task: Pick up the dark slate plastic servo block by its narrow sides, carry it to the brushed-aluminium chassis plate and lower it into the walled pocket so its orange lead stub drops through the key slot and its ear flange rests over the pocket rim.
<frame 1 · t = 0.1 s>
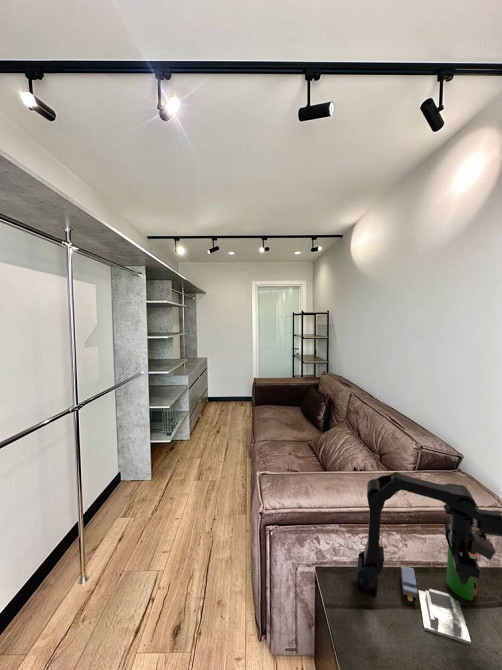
hand: (459, 572, 97), 15 cm above the table, fingers open, 9 cm apart
chassis: (442, 616, 97), on the table
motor: (461, 587, 107), on the table
servo: (408, 588, 107), on the table
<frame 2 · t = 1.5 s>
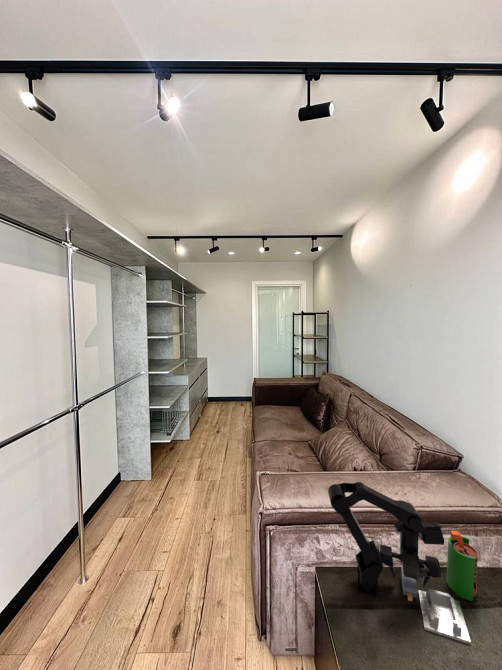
hand: (408, 581, 107), 3 cm above the table, fingers open, 9 cm apart
nothing on the table moved.
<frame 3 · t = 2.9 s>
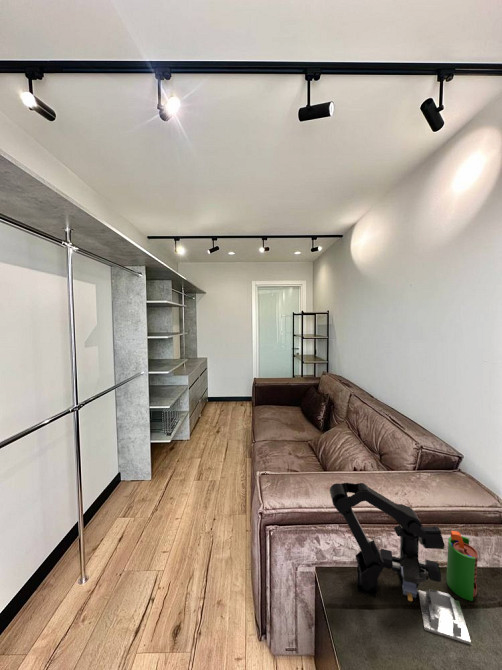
hand: (408, 585, 107), 1 cm above the table, fingers closed on servo, 4 cm apart
servo: (408, 588, 107), on the table, touching gripper
everything else where it was.
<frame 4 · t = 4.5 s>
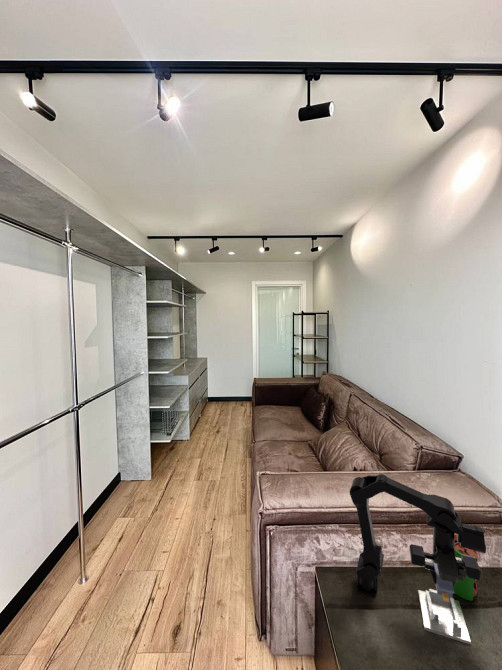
hand: (442, 585, 97), 11 cm above the table, fingers closed on servo, 4 cm apart
servo: (442, 587, 97), point 10 cm above the table, touching gripper
everything else where it was.
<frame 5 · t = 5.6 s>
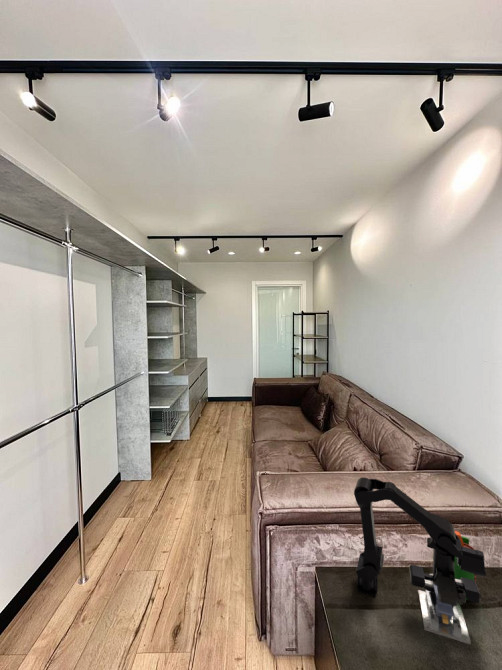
hand: (442, 606, 97), 4 cm above the table, fingers closed on servo, 4 cm apart
servo: (442, 608, 97), point 3 cm above the table, touching gripper
everything else where it was.
when the fingers open (3 cm above the table, at t = 6.2 s): servo drops 1 cm, resting on chassis.
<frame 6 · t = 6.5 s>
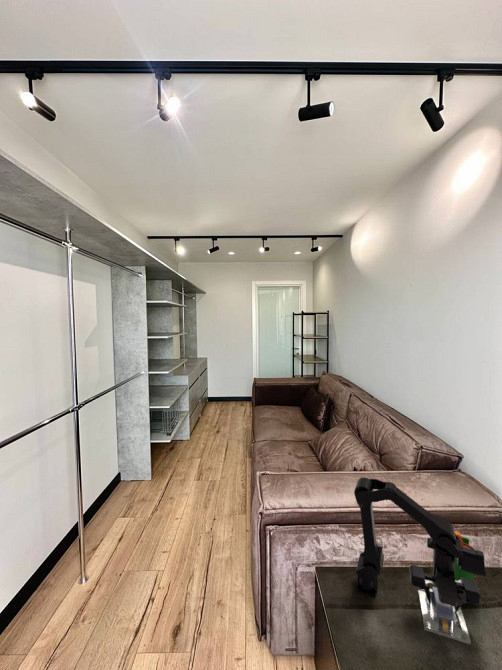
hand: (442, 606, 97), 3 cm above the table, fingers open, 7 cm apart
servo: (442, 613, 97), point 1 cm above the table, touching chassis
everything else where it was.
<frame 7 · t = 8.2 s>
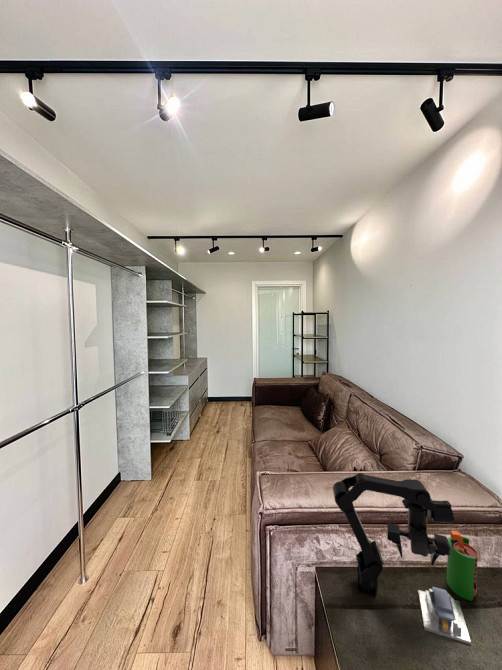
hand: (416, 560, 105), 12 cm above the table, fingers open, 9 cm apart
nothing on the table moved.
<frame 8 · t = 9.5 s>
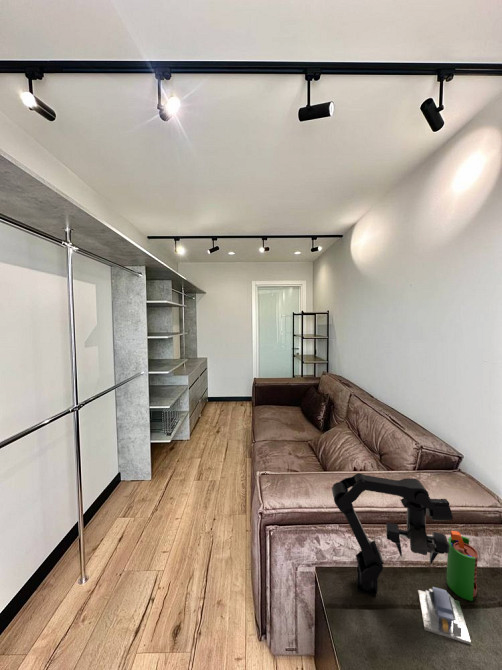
hand: (415, 559, 105), 12 cm above the table, fingers open, 9 cm apart
nothing on the table moved.
at the end: servo 0.1 cm off-centre on the chassis, point 1.0 cm above the chassis's base; servo tilted 0°; the gripper is holding nothing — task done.
